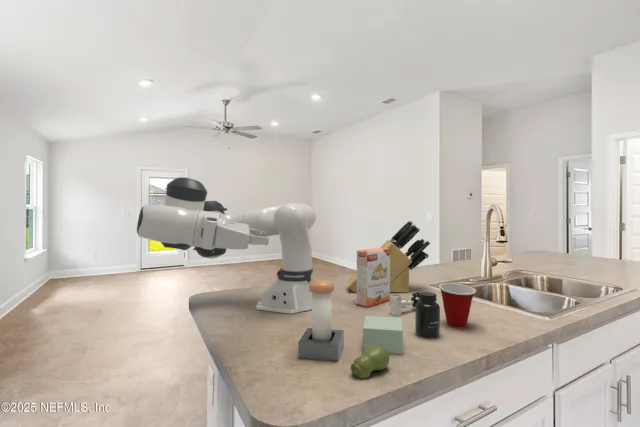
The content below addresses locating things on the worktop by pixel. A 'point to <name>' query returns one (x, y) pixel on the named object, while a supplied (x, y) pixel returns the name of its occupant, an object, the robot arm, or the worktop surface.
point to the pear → (370, 361)
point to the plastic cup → (457, 303)
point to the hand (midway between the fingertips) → (267, 238)
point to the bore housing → (321, 346)
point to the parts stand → (383, 333)
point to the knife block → (400, 258)
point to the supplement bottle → (427, 316)
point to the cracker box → (373, 276)
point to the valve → (402, 303)
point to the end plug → (321, 309)
